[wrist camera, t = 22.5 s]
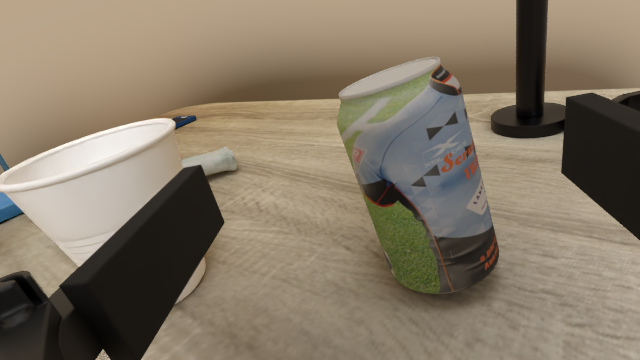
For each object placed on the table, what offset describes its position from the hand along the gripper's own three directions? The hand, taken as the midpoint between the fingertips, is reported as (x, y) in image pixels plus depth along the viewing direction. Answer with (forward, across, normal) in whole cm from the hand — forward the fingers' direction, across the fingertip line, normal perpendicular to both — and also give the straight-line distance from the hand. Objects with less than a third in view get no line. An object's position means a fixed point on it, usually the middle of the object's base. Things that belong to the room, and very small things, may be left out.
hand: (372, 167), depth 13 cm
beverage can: (+5, +2, -10) cm, 11 cm away
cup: (+6, -16, -10) cm, 20 cm away
